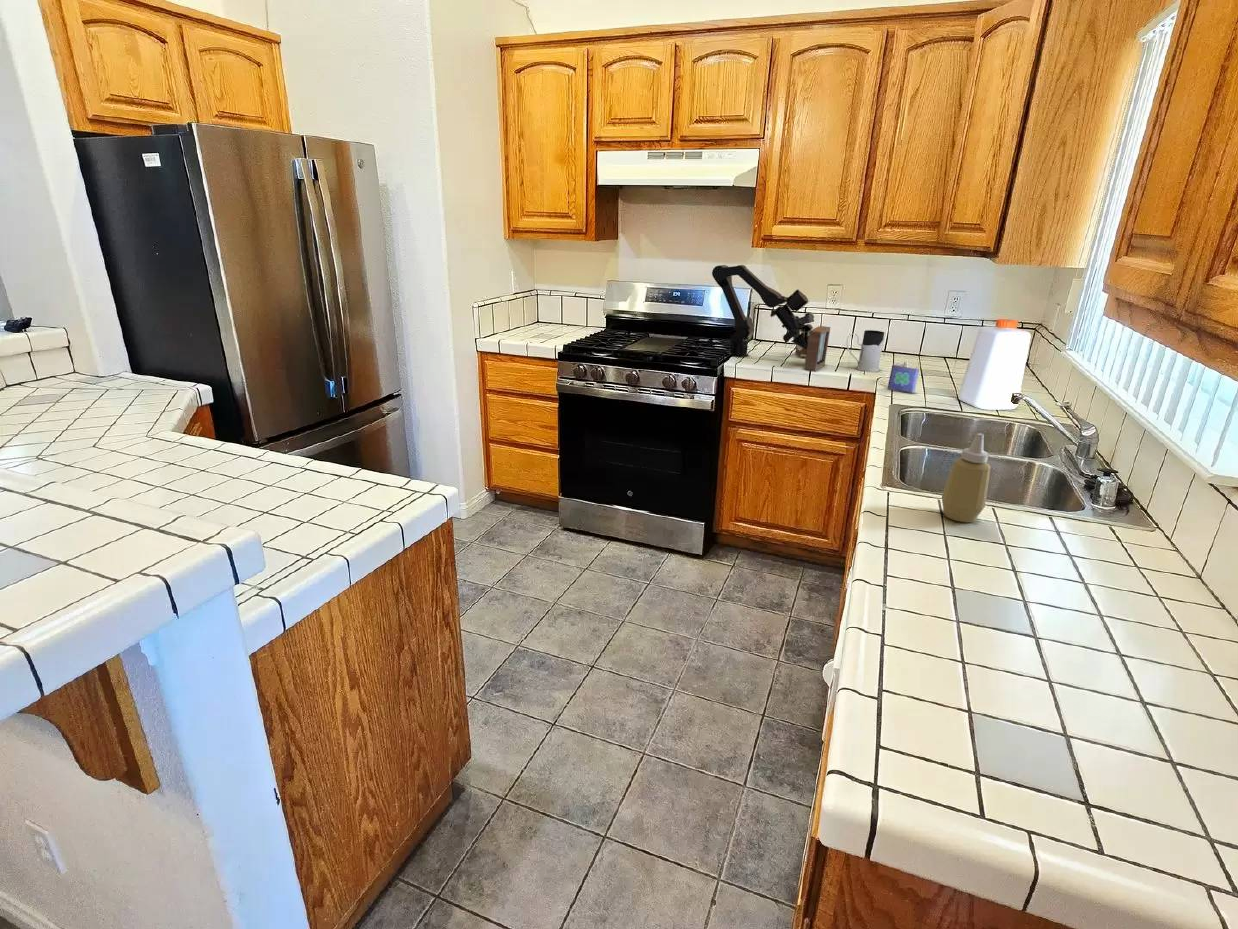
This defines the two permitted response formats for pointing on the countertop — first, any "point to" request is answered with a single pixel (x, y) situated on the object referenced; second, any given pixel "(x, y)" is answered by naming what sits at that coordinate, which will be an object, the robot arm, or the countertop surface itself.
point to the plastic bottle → (996, 366)
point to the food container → (800, 351)
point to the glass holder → (870, 350)
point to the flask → (903, 378)
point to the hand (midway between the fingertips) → (810, 349)
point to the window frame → (817, 348)
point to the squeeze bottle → (967, 483)
